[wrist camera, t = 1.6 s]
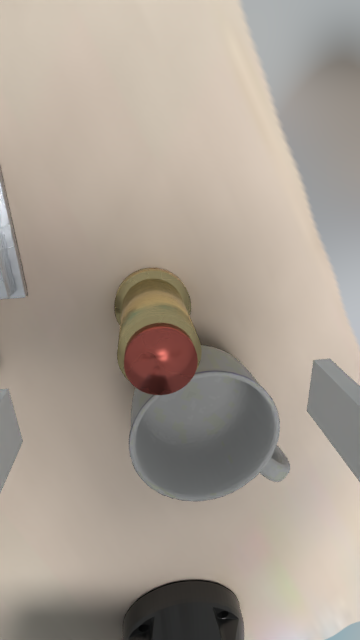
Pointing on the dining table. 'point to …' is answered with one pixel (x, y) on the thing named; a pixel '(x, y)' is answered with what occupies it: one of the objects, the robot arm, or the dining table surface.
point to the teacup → (207, 433)
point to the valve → (156, 332)
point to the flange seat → (9, 253)
